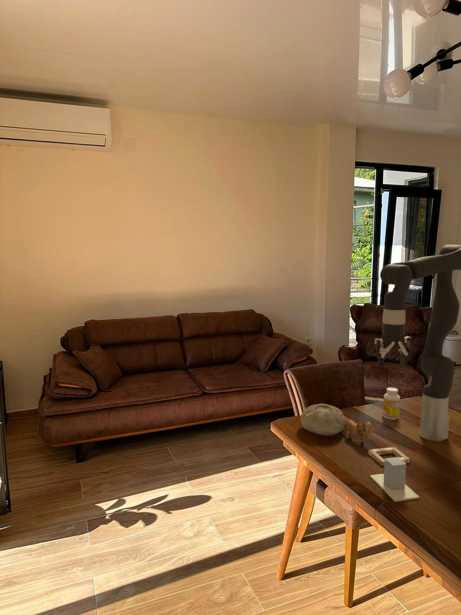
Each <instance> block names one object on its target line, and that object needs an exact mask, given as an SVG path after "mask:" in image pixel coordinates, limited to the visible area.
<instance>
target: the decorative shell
mask: <svg viewBox="0 0 461 615" xmlns="http://www.w3.org/2000/svg"><path fill="white" fill-rule="evenodd" d="M346 420H347V419H346V418H345V415H344V413H343V412H342V411H341V409H339V408H338V407H336V406H334V405H330V404H326V403H318V404H317V403H316V404H312V405H309V406H307V407H306V408H305V409H304V410H303V411H302V413H301V415H300V423H301V425H302V427H303V429H305V430H306V431H308V432H311V433H315V434H316V435H320V436H334V435H337V434H339V433H341V431H343V430H344V429H345V427H346Z"/></svg>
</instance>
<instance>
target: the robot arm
mask: <svg viewBox="0 0 461 615" xmlns="http://www.w3.org/2000/svg"><path fill="white" fill-rule="evenodd" d="M454 271H461V244H445V245H444V246H442V247H441V248H440V251H439V252H438V255H430V256H422V257H417V258H415V259H411V260H408V261H400V262H393V263H389V264H387V265H385V266H384V267H382V269H381V270H380V273H379V276H380V277H379V278H380V279H381V281H382V282H383V283H384V284H386V285H391V286H392V285H393V289H392V290H391V291H387V292H386V293H385V294H384V297H383V298H384V299H383V312H382V330H381V334H382V337H381V338H373V348H372V355H373V356H376V357H377V366H378V367H379V368H381V369H384V368H385V356H386V354H388V353H389V352H391V351H399V353H400V355H399V356H400V358H399V365H400V366H402V367H405V366H406V365H407V361H408V360H407V359H408V355H410V354H413V337H411V336H408V335H406V322H407V320H406V318H407V316H406V301H407V300H406V298H407V296H408V295H407V294H408V292H409V290H410V287H411V284H412V281H414V280H418V279H422V278H425V277H429V276H433V275H435V274H436V283H435V290H434V296H433V297H434V298H433V303H432V307H431V308H432V309H431V313H430V320H429V321H430V322H429V326H428V330H427V335H426V336H427V337H426V341H425V344H424V348H423V350H422V355H421V359H420V368H421V371H422V372H423V374H425V375H427V376H430V377H431V382H430V383H429V384H425V385H424V386H423V387H422V398H421V400H422V401H421V413H420V424H419V425H420V428H419V436H420V437H421V438H423V439H425V440H428V441H432V442H444V441H445V440H446V439H448V438H449V428H450V415H449V414H448V413H449V412H448V411H449V399H450V398H449V396H450V392H451V391H452V388H453V383H454V382H453V381H454V377H455V376H454V375H455V364H454V361H453V360H452V359H451V358H450V357H448V356H445V355H443V354H442V351H443V346H444V342H445V340H446V338H447V337H448V336H449V335H450V333H451V332H452V331H453V329H454V327H456V325H457V322H458V317H459V312H460V301H459V298H458V295H457V293H456V290H455V288H454V285H453V272H454ZM405 335H406V336H405ZM403 344H405V345H403Z"/></svg>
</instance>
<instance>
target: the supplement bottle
mask: <svg viewBox="0 0 461 615" xmlns="http://www.w3.org/2000/svg"><path fill="white" fill-rule="evenodd" d="M400 403H401V397H400V395H399V389H398V388H396V387H387V388H386V393H384V395H383V403H382V406H383V407H382V417H383V418H385V419H386V420H387V419H388V420H391V421H395V420H397V419H399V417H400V405H401V404H400Z"/></svg>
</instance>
